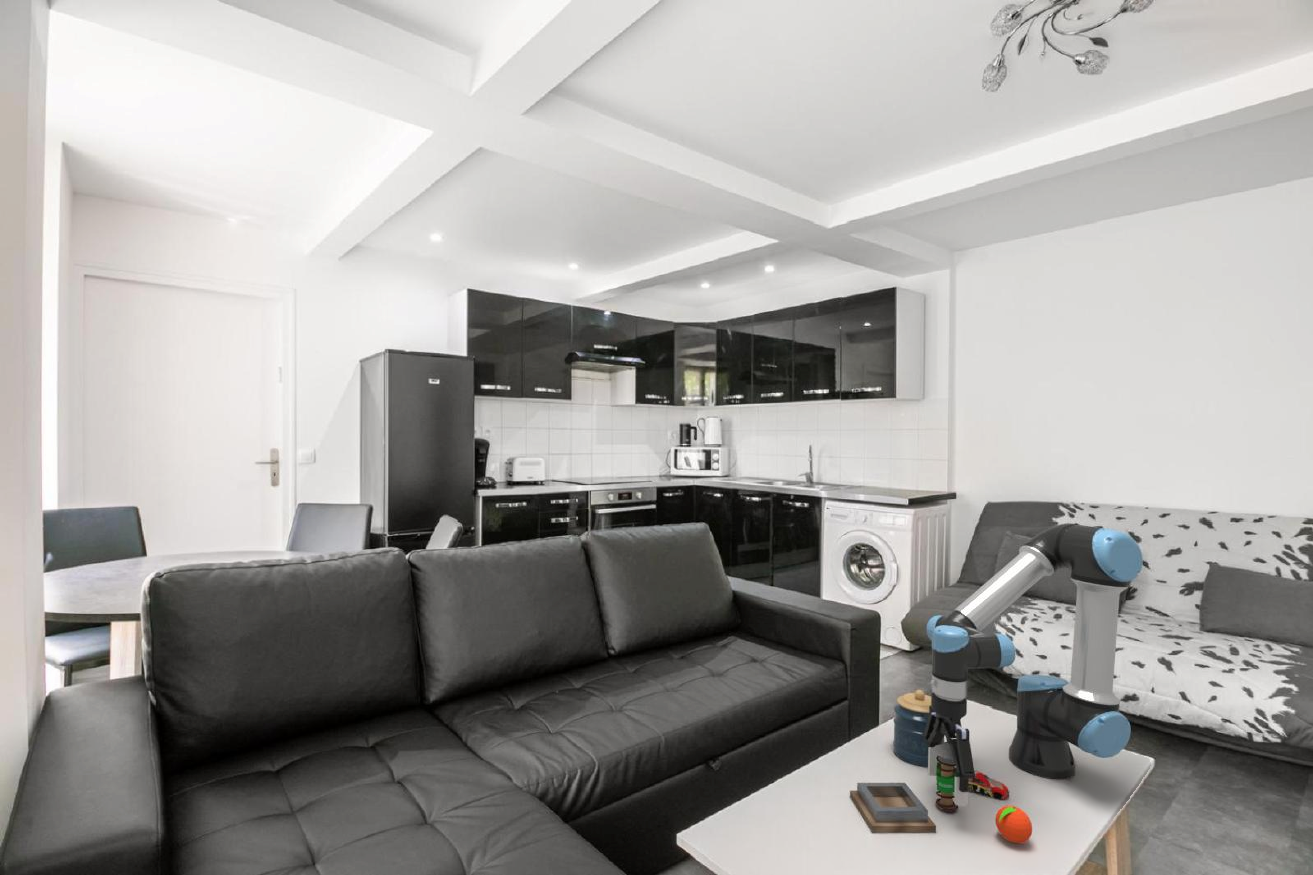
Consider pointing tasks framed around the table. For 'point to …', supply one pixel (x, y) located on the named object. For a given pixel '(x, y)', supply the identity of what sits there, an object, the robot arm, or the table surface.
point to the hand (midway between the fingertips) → (947, 789)
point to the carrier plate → (896, 826)
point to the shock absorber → (945, 777)
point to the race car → (987, 787)
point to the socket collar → (892, 814)
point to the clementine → (1013, 824)
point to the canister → (912, 728)
